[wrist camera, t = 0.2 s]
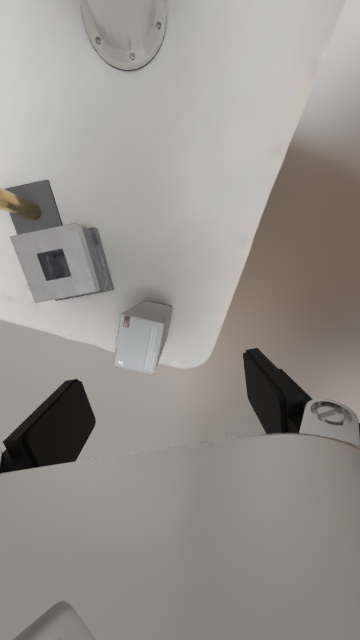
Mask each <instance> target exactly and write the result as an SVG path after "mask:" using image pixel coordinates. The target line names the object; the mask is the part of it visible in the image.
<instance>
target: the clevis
mask: <svg viewBox="0 0 360 640" xmlns="http://www.w3.org/2000/svg"><path fill="white" fill-rule="evenodd" d="M10 238H11V241H12V244H13V246H14V249H15V251H16V254H17V256H18V259H19V262H20V264H21V267H22V269H23V272H24V275H25V277H26V280H27V282H28V285H29V288H30V290H31V293H32V295H33V298H34V300H35V303H38V302H43V301H49V300H54V299H55V301H57V300H63V299H68V298H73V297H79V296H84V295H90V294H95V293H100V292H106V291H111V290H114V288H113V284H112V281H111V277H110V273H109V270H108V266H107V262H106V259H105V255H104V251H103V248H102V244H101V240H100V237H99V233H98V229H96V228H89V229H87V228H85V227H83V226H81V225H78V224H76V223H73V224H69V225H64V226H59V227H54V228H49V229H44V230H39V231H34V232H29V233H24V234H20V235H15V236H10Z"/></svg>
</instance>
